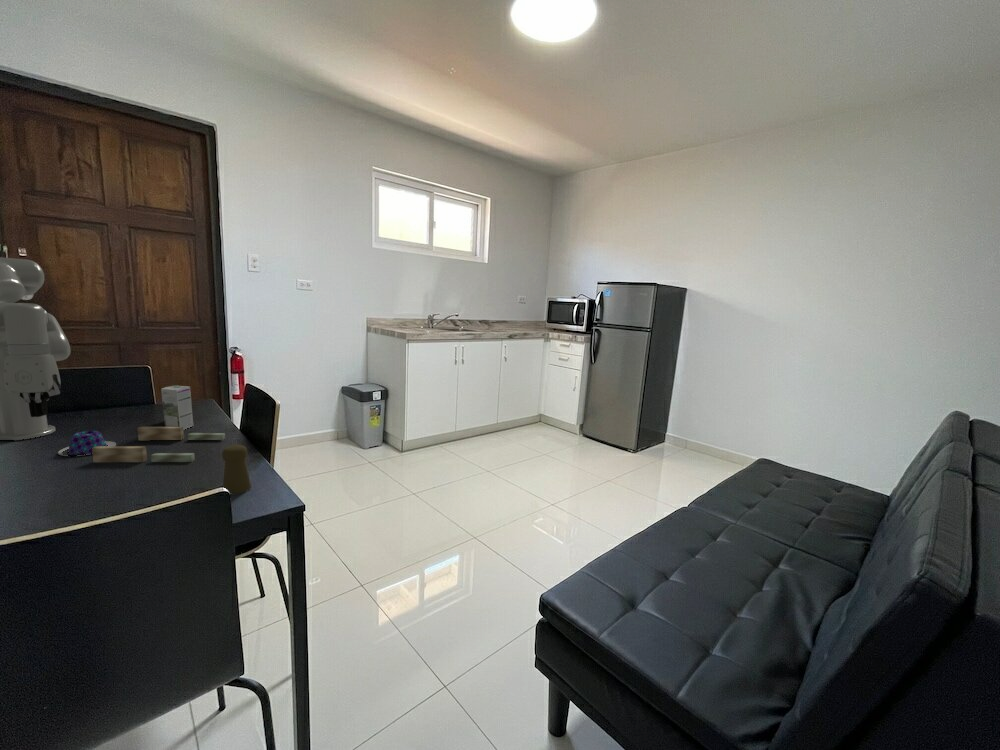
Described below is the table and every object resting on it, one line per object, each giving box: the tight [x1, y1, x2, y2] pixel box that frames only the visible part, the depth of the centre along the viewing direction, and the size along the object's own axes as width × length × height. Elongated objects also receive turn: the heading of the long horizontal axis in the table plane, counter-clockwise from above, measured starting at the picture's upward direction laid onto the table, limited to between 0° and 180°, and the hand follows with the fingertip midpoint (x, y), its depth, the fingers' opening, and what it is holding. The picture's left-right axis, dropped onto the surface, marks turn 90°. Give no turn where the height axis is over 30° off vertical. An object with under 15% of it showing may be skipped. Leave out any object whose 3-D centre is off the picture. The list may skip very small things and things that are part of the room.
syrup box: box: [160, 385, 194, 431], centre depth 140 cm, size 6×6×14 cm
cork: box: [221, 444, 252, 496], centre depth 101 cm, size 6×6×11 cm
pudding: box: [57, 430, 117, 457], centre depth 120 cm, size 12×12×5 cm
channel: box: [91, 426, 226, 463], centre depth 123 cm, size 24×19×4 cm
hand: (39, 415), depth 116 cm, fingers closed
